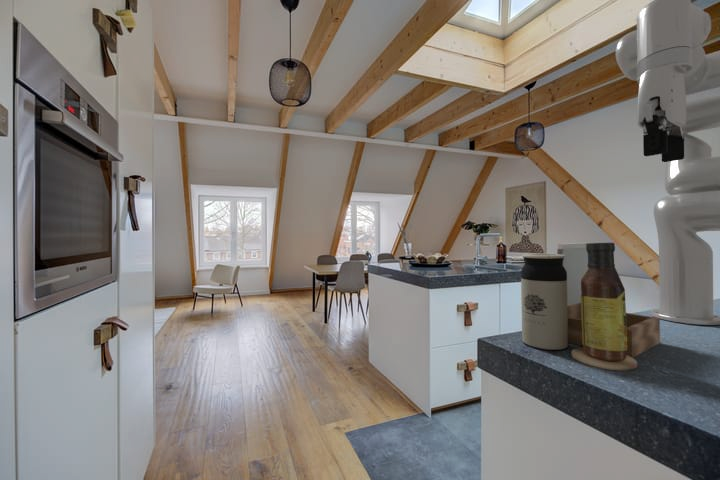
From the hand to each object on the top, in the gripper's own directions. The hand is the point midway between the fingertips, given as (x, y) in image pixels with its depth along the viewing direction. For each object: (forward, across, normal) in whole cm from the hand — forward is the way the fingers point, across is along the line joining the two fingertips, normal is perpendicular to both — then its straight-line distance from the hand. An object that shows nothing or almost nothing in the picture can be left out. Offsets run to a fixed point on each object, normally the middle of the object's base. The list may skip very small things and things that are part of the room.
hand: (664, 157), depth 61 cm
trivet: (+36, +17, -4) cm, 40 cm away
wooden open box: (+36, +5, -8) cm, 37 cm away
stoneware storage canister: (+36, +17, -14) cm, 43 cm away
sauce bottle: (+36, +17, -4) cm, 40 cm away
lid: (+36, +5, -13) cm, 39 cm away
